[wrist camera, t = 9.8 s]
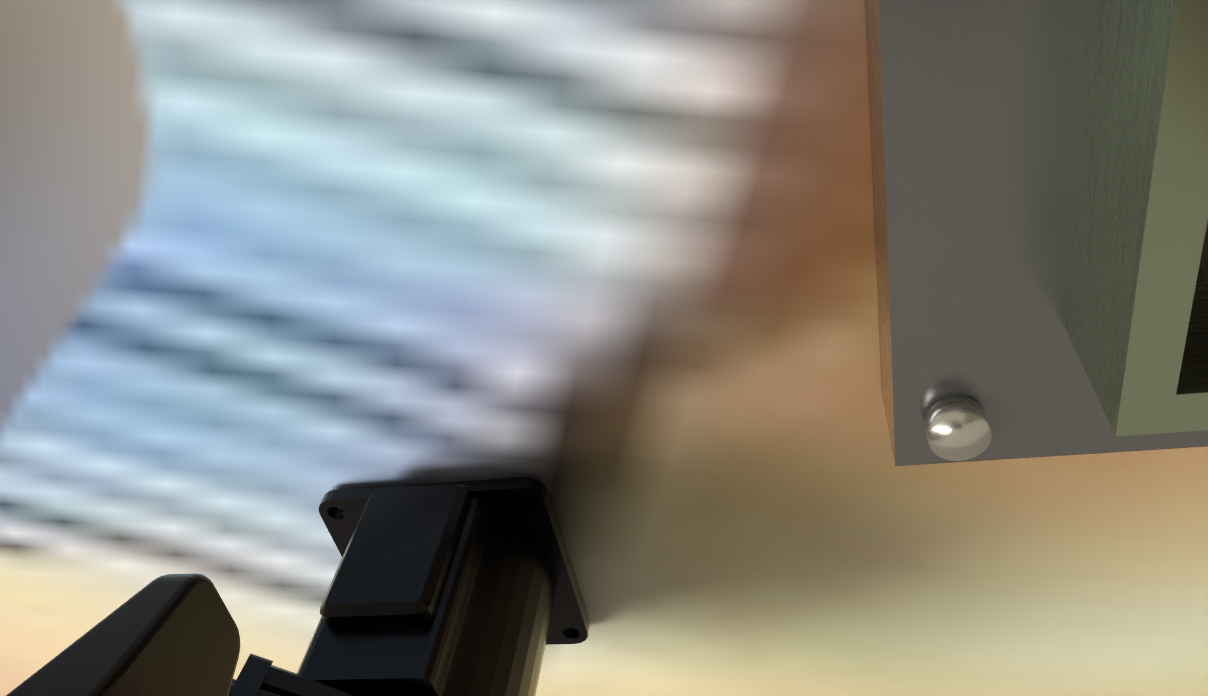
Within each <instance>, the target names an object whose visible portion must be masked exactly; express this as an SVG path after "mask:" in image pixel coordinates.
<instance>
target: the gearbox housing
mask: <svg viewBox="0 0 1208 696" xmlns="http://www.w3.org/2000/svg"><path fill="white" fill-rule="evenodd" d="M865 8H866V31H867V54H868V77H869V101H870V124H871V147H872V171H873V194H874V217H875V240H876V264H877V287H878V310H879V334H880V357H881V380H882V395H883V401H884V406H885V412H886V417H887V423H888V428H889V434H890V439H891V445H892V450H893V456H894V461H895V466H903V465H919V464H935V463H951V462H966V461H982V460H998V459H1014V458H1030V457H1046V456H1062V455H1077V454H1093V453H1109V452H1125V451H1141V450H1157V449H1172V448H1188V447H1204V446H1208V0H865Z"/></svg>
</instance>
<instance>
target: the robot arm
mask: <svg viewBox="0 0 1208 696" xmlns="http://www.w3.org/2000/svg"><path fill="white" fill-rule="evenodd" d="M523 495H529V496H531V497H532V498H529V497H525V496H523ZM338 507H339V508H338ZM340 508H341V509H340ZM319 512H320V515H321V517H322V519H323V521H324V523H325V525H326V527H327V529H328V531H329V533H330V534H331V536H332V538H333V540H334V542H335V544H336V546H337V548H338V550H339V552H340V554H341V556H342V560H341V562H340V564H339V566H338V569H337V571H336V573H335V575H334V578H333V580H332V582H331V585H330V587H329V589H328V591H327V594H326V596H325V598H324V601H323V603H322V605H321V607H320V614H321V615H322V617H321V619H320V621H319V624H318V626H317V628H316V631H315V633H314V635H313V638H312V640H311V642H310V644H309V647H308V649H307V651H306V654H305V656H304V658H303V661H302V663H301V665H300V668H299V670H298V672H297V674H296V673H293V672H290V671H287V670H284V669H281V668H278V667H276V666H273V665H272V662H273V661H271V660H268V659H265V658H262V657H259V656H256V655H253V654H250V656H249V658H248V659H247V661H246V663H245V665H244V667H243V669H242V671H241V672H240V674H239V676H238V678H237V680H235V679H233V676H234V672H235V668H236V665H237V661H238V657H239V652H240V636H239V631H238V628H237V626H236V624H235V622H234V620H233V618H232V617H231V615H230V613H229V611H228V610H227V608H226V606H225V604H224V603H223V601H222V599H221V597H220V595H219V594H218V592H217V590H216V588H215V587H214V585H213V583H212V582H211V580H210V579H208V578H207V577H206V576H204V575H202V574H169V575H164V576H161V577H159V578H157V579H155V580H154V581H152V582H151V583H150V584H148V585H147V586H146V587H144V588H143V589H142V590H141V591H139V592H138V593H137V594H136V595H134V596H133V597H132V598H130V599H129V600H128V601H127V602H125V603H124V604H123V605H121V606H120V607H119V608H118V609H116V610H115V611H114V612H112V613H111V614H110V615H109V616H107V617H106V618H105V619H104V620H102V621H101V622H100V623H98V624H97V625H96V626H95V627H93V628H92V629H91V630H89V631H88V632H87V633H86V634H84V635H83V636H82V637H81V638H79V639H78V640H77V641H75V642H74V643H73V644H72V645H70V646H69V647H68V648H66V649H65V650H64V651H63V652H61V653H60V654H59V655H58V656H56V657H55V658H54V659H52V660H51V661H50V662H49V663H47V664H46V665H45V666H43V667H42V668H41V669H40V670H38V671H37V672H36V673H35V674H33V675H32V676H31V677H29V678H28V679H27V680H26V681H24V682H23V683H22V684H20V685H19V686H18V687H17V688H15V689H14V690H13V691H11V692H10V693H9V694H8V695H6V696H535V694H536V689H537V684H538V679H539V674H540V669H541V664H542V659H543V654H544V649H545V645H546V644H576V643H581V642H583V641H585V640H586V638H587V637H588V631H589V619H588V616H587V613H586V610H585V607H584V604H583V601H582V598H581V594H580V591H579V588H578V585H577V582H576V579H575V576H574V573H573V570H572V566H571V563H570V560H569V557H568V554H567V551H566V548H565V545H564V542H563V539H562V535H561V532H560V529H559V526H558V523H557V520H556V517H555V514H554V511H553V507H552V504H551V501H550V498H549V495H548V492H547V489H546V488H545V486H544V484H542V483H541V482H540V481H538V480H536V479H533V478H526V477H522V478H507V479H492V480H477V481H462V482H446V483H431V484H416V485H401V486H386V487H370V488H355V489H340V490H332V491H329V492H327V493H326V494H325V496H324V498H323V500H322V502H321V504H320V506H319ZM232 679H233V680H232Z"/></svg>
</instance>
